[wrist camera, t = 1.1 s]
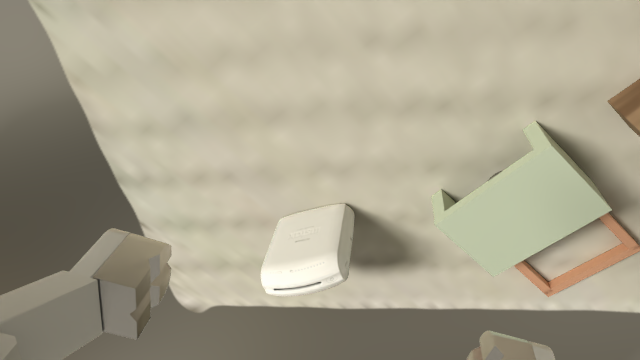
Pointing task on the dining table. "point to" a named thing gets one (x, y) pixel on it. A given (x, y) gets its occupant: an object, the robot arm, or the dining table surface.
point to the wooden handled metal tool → (629, 106)
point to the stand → (521, 207)
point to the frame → (588, 268)
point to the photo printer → (309, 251)
